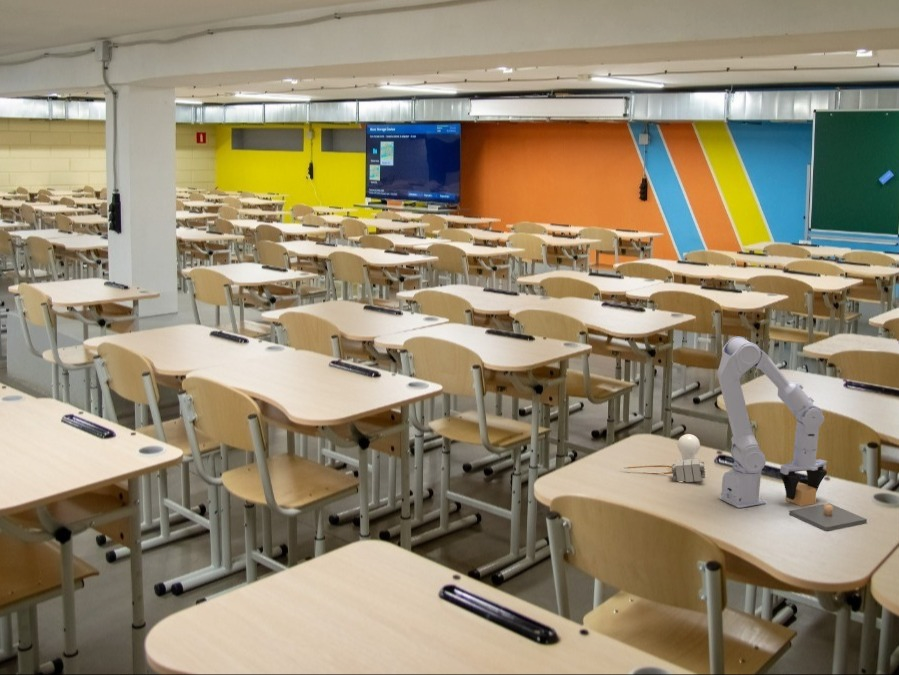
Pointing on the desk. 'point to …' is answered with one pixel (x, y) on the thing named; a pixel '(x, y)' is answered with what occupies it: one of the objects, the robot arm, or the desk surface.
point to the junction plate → (827, 517)
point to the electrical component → (685, 470)
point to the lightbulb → (688, 446)
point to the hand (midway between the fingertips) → (800, 496)
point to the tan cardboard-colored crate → (804, 495)
